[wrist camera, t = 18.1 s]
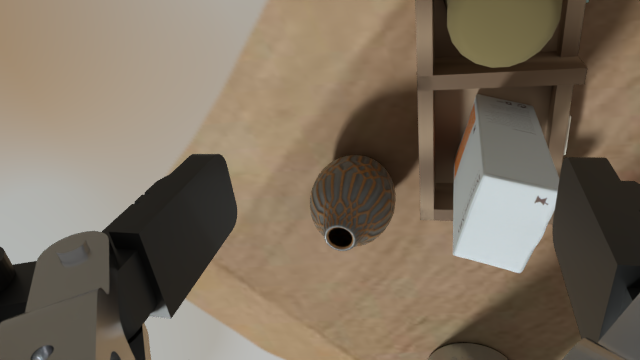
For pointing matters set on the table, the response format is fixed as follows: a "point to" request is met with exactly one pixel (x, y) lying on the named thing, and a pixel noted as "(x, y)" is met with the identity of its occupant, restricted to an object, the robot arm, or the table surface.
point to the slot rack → (502, 82)
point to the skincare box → (502, 185)
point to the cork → (501, 29)
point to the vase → (352, 201)
